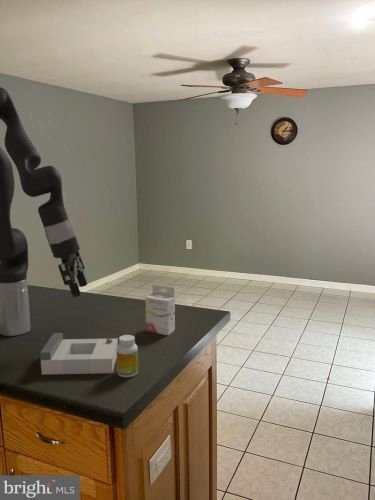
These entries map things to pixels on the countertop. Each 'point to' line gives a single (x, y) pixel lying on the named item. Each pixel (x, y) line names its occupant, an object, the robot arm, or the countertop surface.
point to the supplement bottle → (127, 356)
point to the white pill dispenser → (78, 355)
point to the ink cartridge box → (160, 310)
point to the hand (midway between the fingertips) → (80, 290)
